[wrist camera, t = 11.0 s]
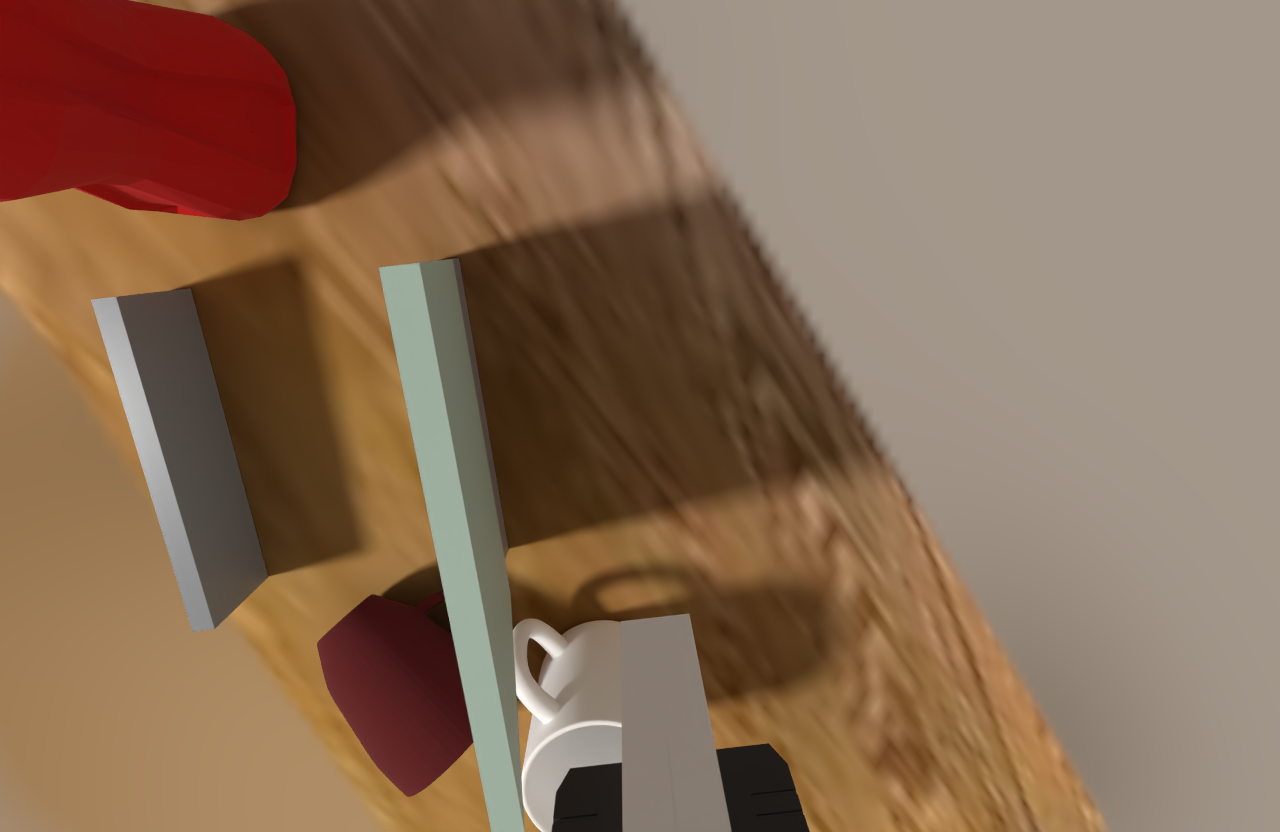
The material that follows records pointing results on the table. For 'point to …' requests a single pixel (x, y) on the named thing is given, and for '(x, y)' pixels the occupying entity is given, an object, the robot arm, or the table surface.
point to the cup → (568, 706)
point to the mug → (399, 688)
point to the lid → (461, 517)
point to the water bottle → (142, 109)
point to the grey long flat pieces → (200, 446)
